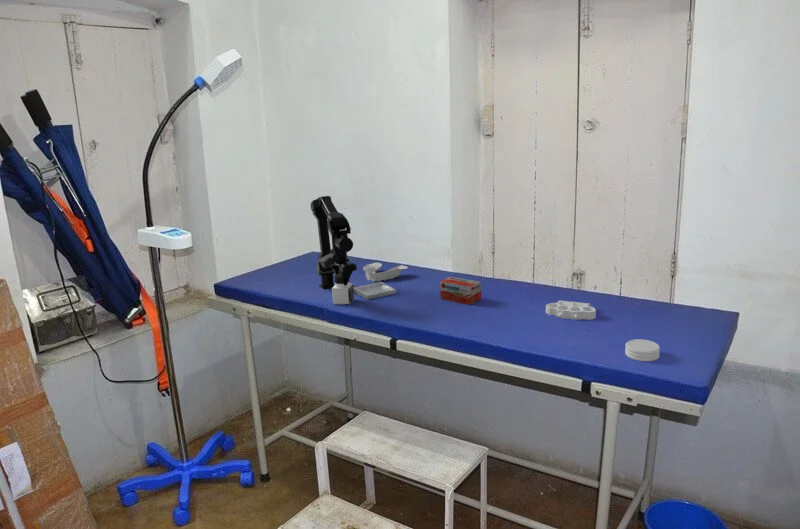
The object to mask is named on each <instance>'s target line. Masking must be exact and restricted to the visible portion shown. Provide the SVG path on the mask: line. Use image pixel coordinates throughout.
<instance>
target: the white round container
mask: <svg viewBox="0 0 800 529" xmlns="http://www.w3.org/2000/svg"><path fill="white" fill-rule="evenodd" d="M624 349H625V351H624V355H625V356H626V357H628V358H629V359H632V360H634V361H639V362H653V361H656V360H659V358H660V357H661V356H660V353H661V351H660V350H661V347H660V345H659V344H658V343H657V342H655V341H653V340H649V339H638V338H636V339H630V340H628V341H627V342H626V343H625V348H624Z"/></svg>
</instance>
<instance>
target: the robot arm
mask: <svg viewBox="0 0 800 529" xmlns="http://www.w3.org/2000/svg"><path fill="white" fill-rule="evenodd" d="M310 210H311V212H312V215H313V216H314V218H315V219H316V222H317V223H316V224H317V229H318V230H317V232H318V239H319V248H320V253H319V255H318V258H317V264H316V267H315V271H316V275H318V276H319V277H320V282H321V284H318V286H319V287H320V288H321V289H323V290H326V289H327V290H328V289H332V288H333V287H334V286H335V279H334V276H335V275H336V274H339V273H341V274H342V279H343V283H344V285H347V283H348V281H349V282H350V278H351V276H352V274H353V272H354V271H355V272H356V271H357V270H358V266H357V264H355V263H354V262H352V261H350V259H349V258H348V253H349V252H351V250H353V248H354V242H353V240H352V239H351V238H350V237H349V235H350V234H351V231H352V229H351V228H352V227H351V226H350V223H349V221H348V219H347V218H346V216H345V215H344V214H343V213H342V212H339V211H338V209H337V208H336V207H335V205H334V203H333V201H332V197H331V195H325V196H318V197H317V198H316V199H313V200H312V201H311V202H310ZM330 236H331V240H330ZM331 245H332V248H331Z"/></svg>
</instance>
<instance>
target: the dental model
mask: <svg viewBox="0 0 800 529" xmlns="http://www.w3.org/2000/svg"><path fill="white" fill-rule="evenodd" d="M382 266H383V265H382V263H381V262H373V263H368V264H366V265H364V266H363V267H362V270H363V271H364V272H365V277H366V279H367V281H369V280H372V281H371V282H375V281H376V282H382V280H384V281H386V280H387V281H389V280H392V279H395V278H398V277H400V275H401V273H402V270H405V269H408V266H406V265H402V264H401V265H398V266H394V267H391V268H390V269H387V270H385V271H381V272H378V271H380V270H381V268H382ZM388 279H389V280H388Z"/></svg>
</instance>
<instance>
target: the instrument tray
mask: <svg viewBox="0 0 800 529" xmlns="http://www.w3.org/2000/svg"><path fill="white" fill-rule="evenodd" d="M353 292H354V293H355V294H356V293H357V295H358V296H359V297H361V296H362V297H361V298H363V299H365V300H366V299H367V301H369V300H373V298H374V299H377V297H378V298H382V296H383V297H386V296H392V295H395V294H397V289H396V288H394V287H392V286H390V285H388V284H387V283H384V281H383V282H382V281H377V282H373V283H369V284H363V285H360V286H355V287H354V286H353ZM368 299H369V300H368Z"/></svg>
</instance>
